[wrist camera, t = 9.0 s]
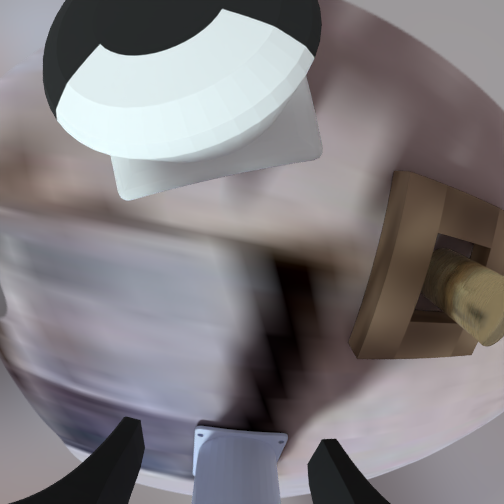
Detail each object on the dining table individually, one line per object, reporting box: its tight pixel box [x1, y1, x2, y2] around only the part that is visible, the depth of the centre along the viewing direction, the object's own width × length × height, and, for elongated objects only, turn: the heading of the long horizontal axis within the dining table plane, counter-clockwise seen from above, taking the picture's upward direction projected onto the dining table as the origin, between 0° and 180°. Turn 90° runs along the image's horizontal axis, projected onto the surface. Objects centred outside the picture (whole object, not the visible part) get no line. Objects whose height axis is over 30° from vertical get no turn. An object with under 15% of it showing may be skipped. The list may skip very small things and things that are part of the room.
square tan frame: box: [348, 171, 504, 359], centre depth 17 cm, size 12×12×2 cm
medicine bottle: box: [43, 0, 323, 200], centre depth 9 cm, size 7×7×12 cm
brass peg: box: [421, 248, 504, 346], centre depth 14 cm, size 4×4×7 cm
